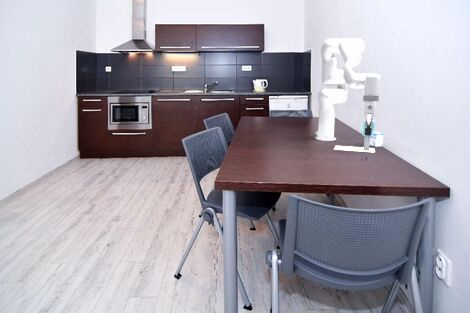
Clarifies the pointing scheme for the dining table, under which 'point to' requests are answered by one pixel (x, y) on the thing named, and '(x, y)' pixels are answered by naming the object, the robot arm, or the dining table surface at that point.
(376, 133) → the medicine box
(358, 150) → the base board
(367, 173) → the dining table surface
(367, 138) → the post
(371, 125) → the pale aqua block
